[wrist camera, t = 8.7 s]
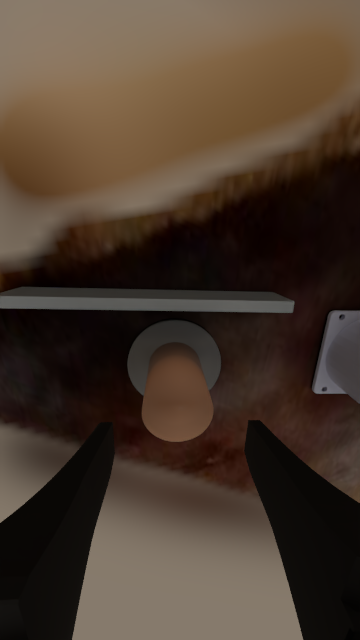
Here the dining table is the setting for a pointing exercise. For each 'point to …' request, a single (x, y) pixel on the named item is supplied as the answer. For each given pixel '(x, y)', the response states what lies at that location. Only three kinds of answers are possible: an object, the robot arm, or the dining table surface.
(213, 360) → the slate coaster
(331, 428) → the dining table surface
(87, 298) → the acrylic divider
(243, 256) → the dining table surface
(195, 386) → the terracotta cylinder
